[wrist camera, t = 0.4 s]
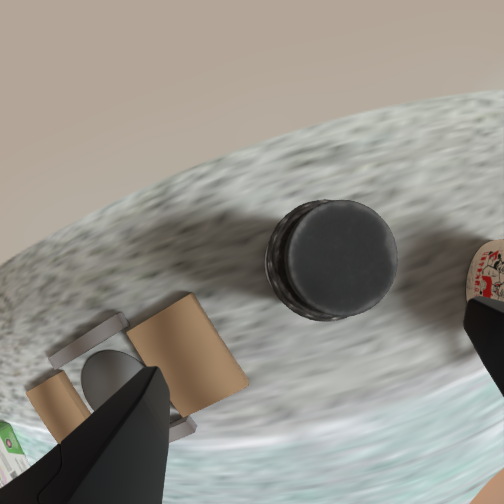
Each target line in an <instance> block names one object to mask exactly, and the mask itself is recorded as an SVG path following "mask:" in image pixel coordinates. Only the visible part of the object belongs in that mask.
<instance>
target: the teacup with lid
mask: <svg viewBox="0 0 504 504" xmlns="http://www.w3.org/2000/svg"><path fill="white" fill-rule="evenodd" d="M476 296H484V297H488V298H492V299H496V300H500V301H504V239H500V240H493V241H490V242H487V243H486V244H484V245H483V246H482V247H481V248H480V249H479V250H478V251H477V253H476V254H475V256H474V258H473V260H472V262H471V265H470V267H469V271H468V275H467V282H466V298H467V302H468V300H469V299H470V298H473V297H476Z"/></svg>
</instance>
